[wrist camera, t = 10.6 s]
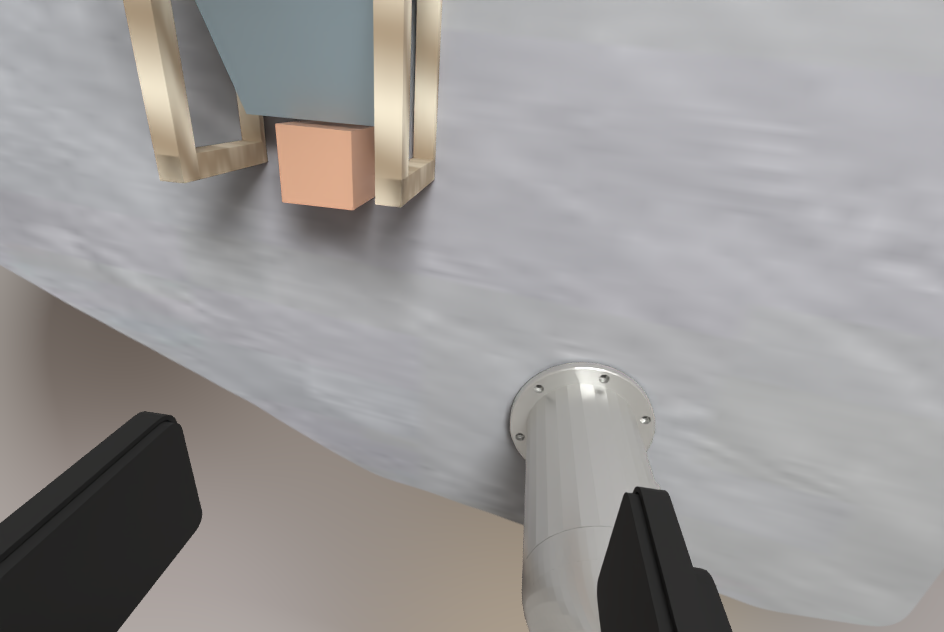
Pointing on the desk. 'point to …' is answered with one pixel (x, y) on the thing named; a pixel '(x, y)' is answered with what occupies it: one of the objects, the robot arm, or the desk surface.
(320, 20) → the trapdoor plate
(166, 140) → the frame
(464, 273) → the desk surface
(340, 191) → the terracotta block
